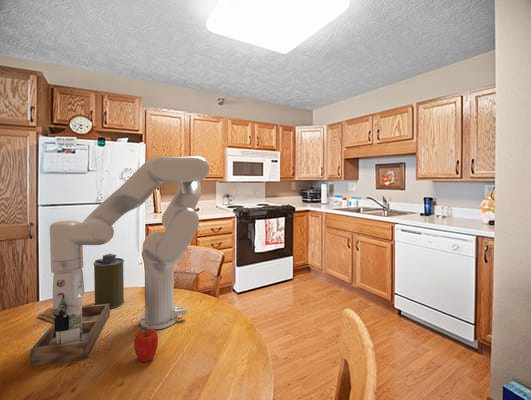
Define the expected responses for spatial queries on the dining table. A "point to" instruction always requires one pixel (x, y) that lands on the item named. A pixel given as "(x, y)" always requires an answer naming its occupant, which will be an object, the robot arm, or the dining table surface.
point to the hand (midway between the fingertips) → (69, 321)
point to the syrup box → (72, 324)
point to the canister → (109, 281)
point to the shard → (47, 315)
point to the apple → (146, 345)
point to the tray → (54, 353)
